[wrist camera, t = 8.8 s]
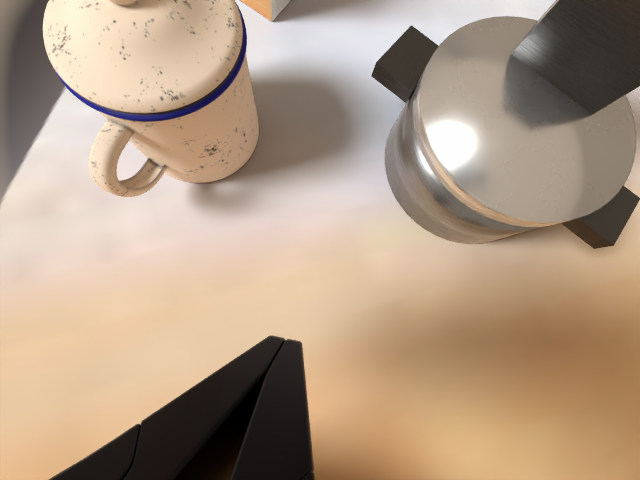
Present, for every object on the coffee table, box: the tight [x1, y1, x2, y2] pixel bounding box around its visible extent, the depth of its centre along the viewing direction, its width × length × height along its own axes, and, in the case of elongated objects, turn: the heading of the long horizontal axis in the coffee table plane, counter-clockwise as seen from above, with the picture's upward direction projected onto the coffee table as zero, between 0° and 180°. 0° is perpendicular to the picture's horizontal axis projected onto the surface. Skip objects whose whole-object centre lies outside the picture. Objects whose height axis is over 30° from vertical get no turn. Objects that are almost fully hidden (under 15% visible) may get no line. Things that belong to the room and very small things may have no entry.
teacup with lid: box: [43, 0, 259, 197], centre depth 17 cm, size 12×9×12 cm
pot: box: [372, 25, 640, 249], centre depth 21 cm, size 13×19×6 cm
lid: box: [413, 0, 640, 227], centre depth 14 cm, size 13×13×8 cm
